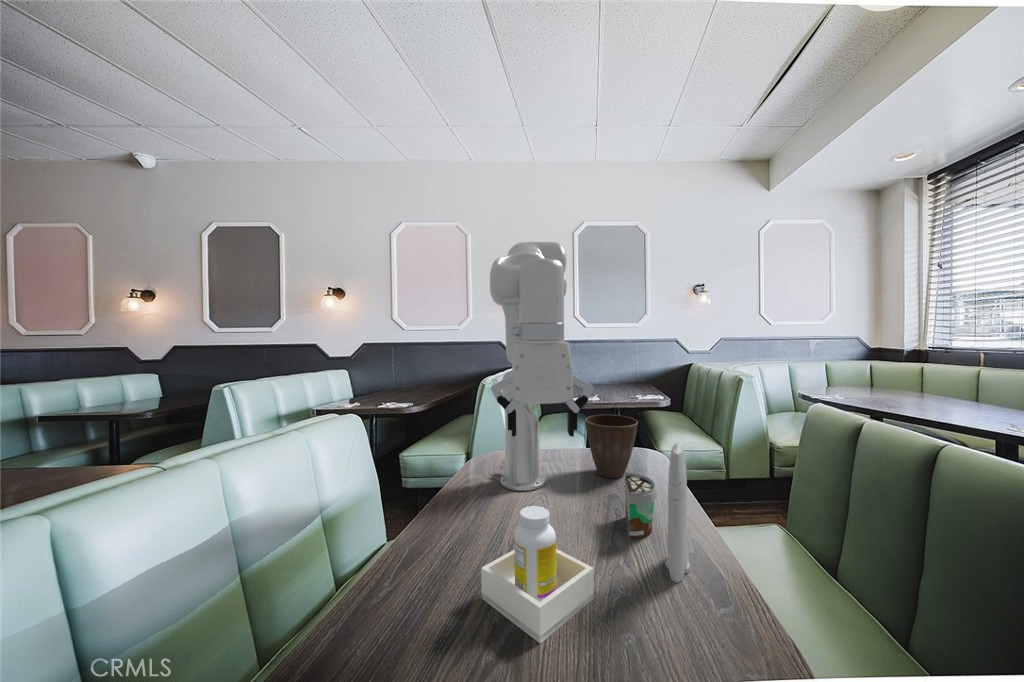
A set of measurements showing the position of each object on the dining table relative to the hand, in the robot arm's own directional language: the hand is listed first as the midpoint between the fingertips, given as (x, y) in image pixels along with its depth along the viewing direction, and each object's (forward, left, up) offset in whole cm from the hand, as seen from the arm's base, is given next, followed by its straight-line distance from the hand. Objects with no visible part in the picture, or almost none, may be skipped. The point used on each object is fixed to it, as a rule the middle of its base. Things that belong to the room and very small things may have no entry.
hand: (542, 434), depth 67 cm
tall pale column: (+15, +19, -25) cm, 35 cm away
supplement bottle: (+2, -5, -24) cm, 25 cm away
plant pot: (-18, +50, -25) cm, 59 cm away
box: (+3, -5, -25) cm, 26 cm away
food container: (+4, +27, -25) cm, 38 cm away
